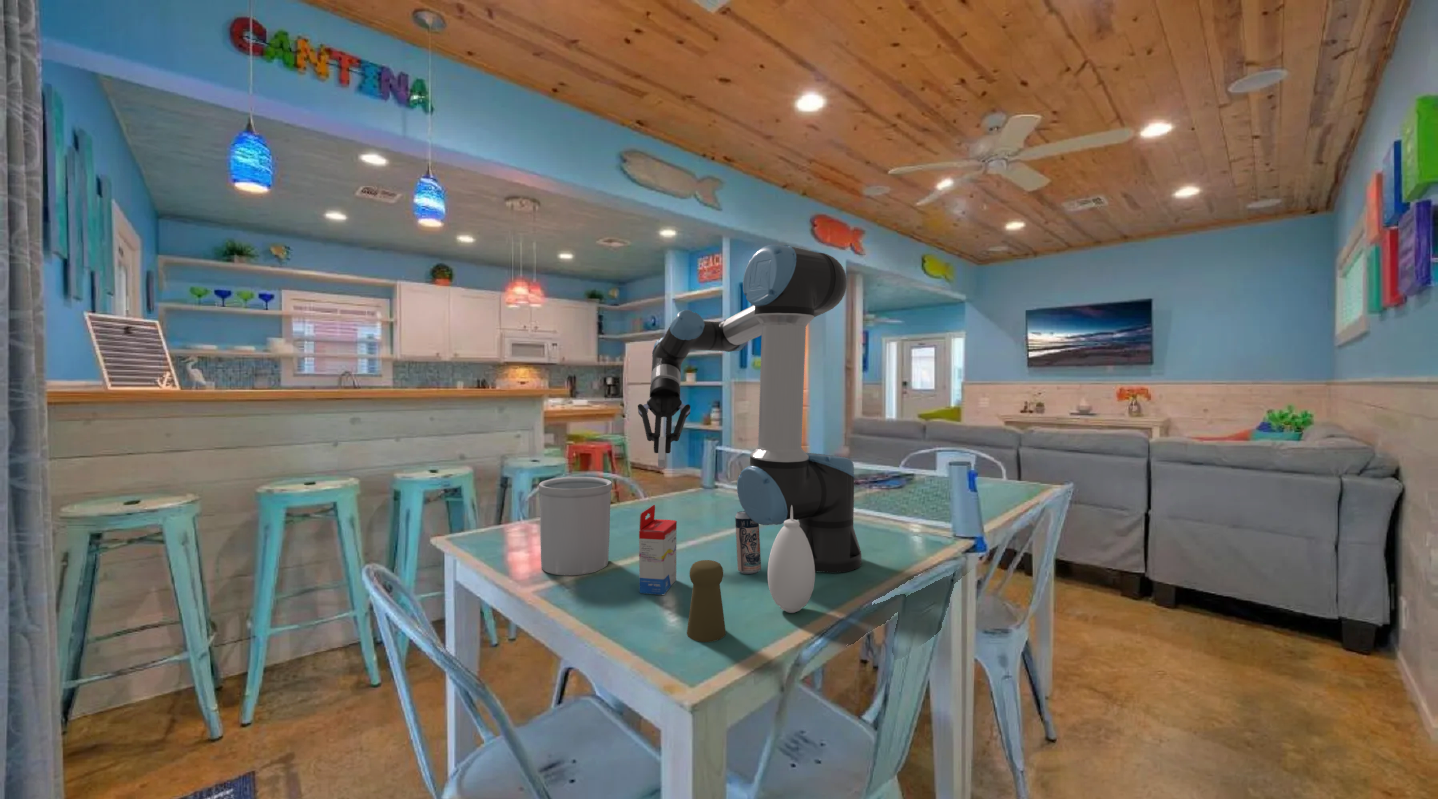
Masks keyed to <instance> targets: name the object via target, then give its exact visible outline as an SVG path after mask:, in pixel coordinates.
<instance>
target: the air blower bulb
mask: <svg viewBox="0 0 1438 799" xmlns="http://www.w3.org/2000/svg"><path fill="white" fill-rule="evenodd" d="M799 525H800V523H799V521H798V520H794V519H793V507H792V505H791V512H790V519H788V520H785V521H784V523H783V526H782V527H781V528H780V530H779V531H778V533H777V535H776V537H775V539H774V540H773V543H772V546H771V549H770V554H769V556H768V564H767V584H768V585H767V586H768V589H769V592H770V595H771V598H772V600H773V601H774V603H775V605H776V606H779V607H780V609H781V610H783V611H784V612H786V613H789V614H794V613H796V612H799V611H801V610H802V608H804V607H805V606H807V604H808V602H809V601H810V599H811V597H812V595H813V591H814V587H815V582H816V581H815V580H816V571H815V565H814V559H813V554H812V550H811V547H810V544H809V542H808V539H807V537H806V535H805V533H804V532H803V530H802V529H801V528H800V526H799Z"/></svg>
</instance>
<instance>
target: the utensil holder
mask: <svg viewBox="0 0 1438 799" xmlns="http://www.w3.org/2000/svg"><path fill="white" fill-rule="evenodd" d="M612 488H613V482H612V481H611V480H610V479H607V478H602V477H593V476H569V477H566V476H565V477H558V478H551V479H546V480H543V481H541V482H539V484H538V490H539V493H540V495H539V496H540V499H539V500H540V502H539V503H540V504H539V505H540V506H539V507H540V508H539V509H540V511H539V513H540V514H539V515H540V516H539V518H540V519H539V520H540V522H539V523H540V524H539V525H540V565H541V566H540V567H541V569H542V570H543V571H544V572H546V573H548V574H550V575H557V576H581V575H587V574H592V573H595V572H598V571H600V570H602V569H604V568H605V567H607V566H608V564H609V554H610V552H609V551H610V550H609V549H610V536H611V535H610V527H611V498H612V497H611V494H612V493H611V491H612Z"/></svg>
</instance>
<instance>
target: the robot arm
mask: <svg viewBox="0 0 1438 799" xmlns="http://www.w3.org/2000/svg"><path fill="white" fill-rule="evenodd" d="M742 278H743V279H742V291H743V295H744V296H746V297H745V298H746V301H747V302H748V303H750V304H751V306H749V307H747V308H745V309H743V310H741V311H739V312H737V313H736V314H734V315H732V316H730V317H728V318H726V319H723V320H722V321H712V320H710V321H709V320H704V318H702V316H701V315H700V314H699V313H697V312H696V311H695V312H694V311H692V310H690V309H683V310H681V311H679V312H678V313H677V314H676V315H675V317H674V318H673V319H672V321H671V323H670V325H669V326H668V329H667V330H666V333H665V334H664V336H663V337H661V338H659V339H657V340H656V341H655V343H654V344H653V349H652V356H651V357H652V358H651V360H652V362H651V374H650V389H649V398H648V399H647V401H646V403H645V404H643V403H639V404H638V405H637V411H638V412H637V413H638V415H639V416H640V418H642V419H641V420H642V423H643V428H644V431H645V432H644V433H645V436H646V440H647V441H648V442H653V452H654V454H657V464H658V465H657V467H658V468H665V467H666V454H670V453H671V452H672V451H671V450H672V443H673V442H674V441H675V442H679V440H680V438H681V434H682V431H683V428H684V426H685V424H686V423H685V422H686V419H687V418H688V417H689V415H690V414H691V405H690V404H686V405H685V404H684V403H683V402H682V400H681V381H682V379H681V376H682V374H681V373H682V364H683V362H684V361H685V359H686V358H687V356H688V354H689V353H690V352H691V351H694V350H695V351H715V352H716V351H718V352H727V353H732V352H740V351H741V350H743V349H744V347H745V346H746V344H747V342H750V341H751V340H755V339H756V338H759V337H761V338H760V339H761V342H760V344H761V348H760V374H759V375H760V377H759V401H758V402H759V406H758V407H759V410H758V413H759V414H758V433H757V434H758V437H757V439H758V440H757V446H756V448H755V449H754V450H753V451H751V452H750V453H749V454H750V456H749V465H748V466H746V467H745V468H742V470H741V471H740V474H739V475H738V478H737V479H736V480H737V481H736V482H737V483H736V492H737V498H738V501H739V503H740V506H741V507H742V509H743V511H745V513H746V514H747V515H748V517H749V518H750V519H751V520H753V521H754V522H756V523H758V524H759V525H761V526H770V525H774V526H775V525H777V526H778V525H783V524H784V521H785V520H788V519H790V512H791V505H792V507H793V519H794V520H798V521H799V523H800V525H799V526H800V528H801V529H802V530H803V532H804V533H805V535H806V537H807V539H808V542H809V544H810V547H811V550H812V554H813V559H814V565H815V572H819V573H831V574H833V573H835V574H836V573H837V574H838V573H846V572H852V571H854V569H855V570H857V569H859V568H860V567H861V566H862V559H863V558H862V550H861V548H860V545H859V544H860V543H859V541H858V538H857V534H856V531H855V529H854V516H855V515H854V511H855V510H854V508H855V507H854V506H855V505H854V504H855V480H856V476H855V466H854V463H853V461H852V459H851V458H850V457H849V458H848V457H845V456H839V455H833V454H824V453H814V452H805V451H804V450H803V448H802V444H803V443H802V442H803V440H802V439H803V438H802V437H803V419H804V418H803V414H804V411H803V410H804V388H805V365H806V364H805V363H806V362H805V361H806V360H805V359H806V336H807V332H806V330H807V326H808V325H809V324H810V322H812V320H814V318H817V317H818V316H821V315H823V314H825V313H827V312H830V311H831V310H833V309H834V308H835V307H836V306H838V305H839V304H840V303H841V302H842V300H843V298H844V296H845V295H846V291H847V289H848V288H847V286H848V280H847V279H848V278H847V273H846V270H845V269H844V267H843V266H842V263H840V262H839V261H838V260H837V258H835V257H834V256H831V255H830V254H828V253H824V252H817V251H813V250H807V249H802V248H799V247H794V246H791V245H789V244H788V245H787V244H785V245H780V244H767V245H764V246H762V247H761V248H760V249H758V250H757V251H756V252H754V254H753V255H752V258H751V259H749V261H748V264H747V265H746V267H745V270H744V274H743V277H742ZM679 410H680V411H679ZM649 411H650V412H651V413H652V414H653V415H654V416H655V419H654V421H655V422H654V432H652V428H651V423H650V419H649V416H648V415H649V414H648V413H649ZM678 412H680V413H679V415H678V419H677V421H676V424H675V427H674V430H673V431H672V427H673V426H672V424H673V417H674V415H676V413H678ZM662 418H666V420H665V422H666V423H665V436H661V431H662V429H661V428H662Z"/></svg>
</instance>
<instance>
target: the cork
mask: <svg viewBox="0 0 1438 799" xmlns="http://www.w3.org/2000/svg"><path fill="white" fill-rule="evenodd" d="M723 577H724V568H723V566H722V565H721V564H720V563H719V562H717V560H710V559H702V560H697V561H695V562H694V563H693V564H692V565H691V567H690V569H689V578H690V581H691V584H692V590H691V596H690V597H691V599H690V604H689V605H690V607H689V613H688V620H687V621H688V622H687V628H686V635H687V638H689V639H690V640H693V641H695V642H699V643H700V642H701V643H710V642H717V641H720V640H721V639H723V638H725V637H726V633H727V632H726V624H725V616H724V607H723V600H722V593H721V591H722V590H721V585H720V584H721V583H722V582H723V580H724V579H723Z"/></svg>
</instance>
